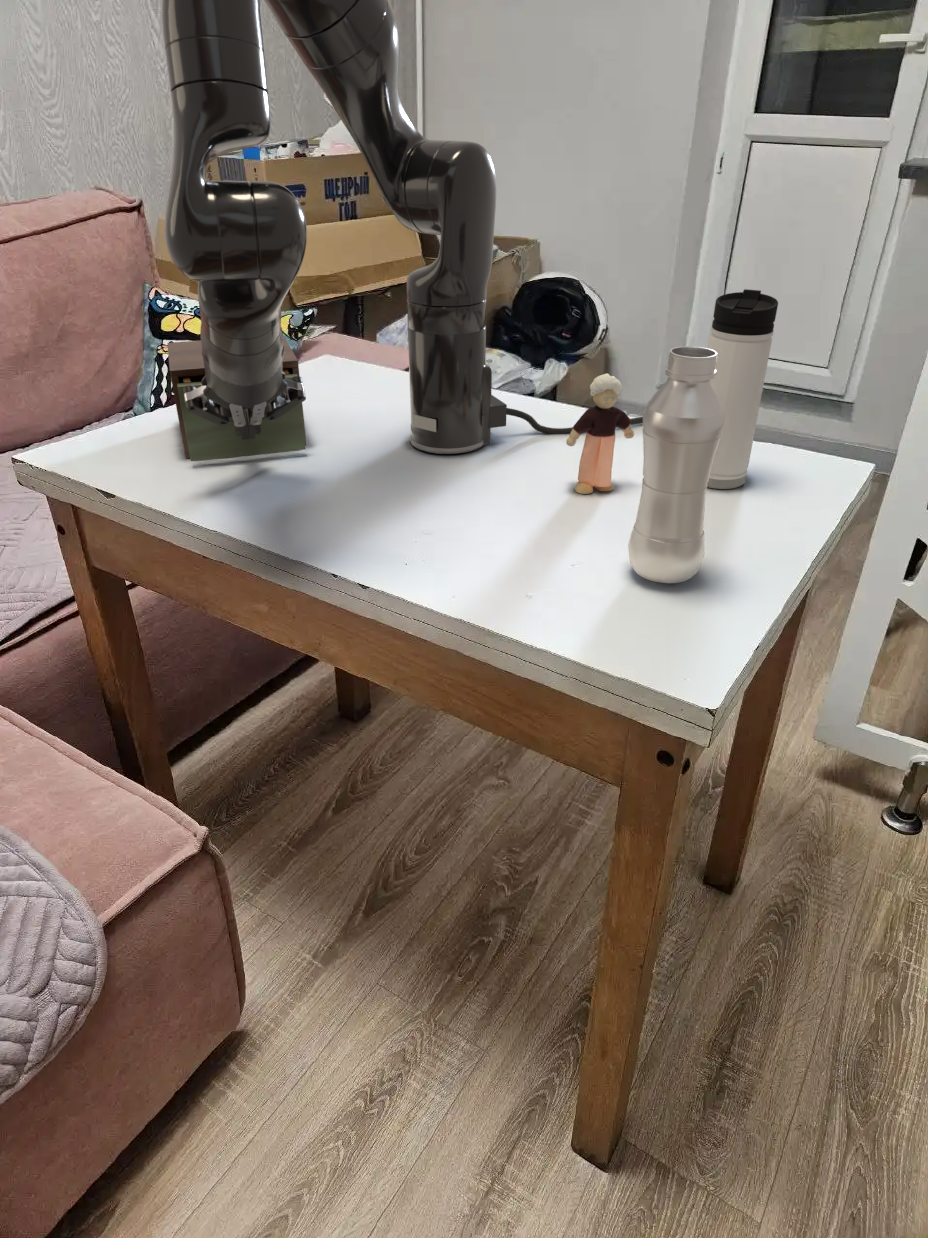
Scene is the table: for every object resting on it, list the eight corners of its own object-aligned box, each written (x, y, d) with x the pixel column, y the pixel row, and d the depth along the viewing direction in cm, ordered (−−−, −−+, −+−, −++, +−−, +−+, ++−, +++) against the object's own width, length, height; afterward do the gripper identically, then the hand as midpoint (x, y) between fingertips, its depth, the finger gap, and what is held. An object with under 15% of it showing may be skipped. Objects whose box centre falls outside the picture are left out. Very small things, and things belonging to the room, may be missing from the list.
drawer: (307, 452, 101) (299, 379, 96) (191, 465, 98) (177, 389, 93) (291, 417, 112) (283, 350, 108) (186, 427, 109) (174, 358, 104)
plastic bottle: (701, 596, 74) (741, 364, 63) (623, 588, 75) (649, 359, 64) (699, 562, 79) (735, 344, 69) (625, 555, 80) (650, 340, 70)
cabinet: (306, 446, 106) (298, 360, 100) (185, 458, 102) (169, 370, 96) (291, 413, 117) (282, 334, 111) (181, 423, 113) (167, 342, 107)
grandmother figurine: (578, 500, 91) (587, 383, 85) (559, 487, 94) (566, 373, 88) (635, 487, 94) (649, 373, 88) (615, 475, 97) (626, 364, 91)
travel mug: (749, 473, 98) (784, 291, 88) (740, 493, 93) (775, 303, 82) (695, 464, 100) (723, 286, 90) (683, 484, 95) (710, 297, 85)
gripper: (305, 309, 83) (299, 397, 100) (165, 318, 80) (182, 408, 96) (319, 378, 82) (310, 455, 98) (176, 390, 78) (192, 468, 95)
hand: (247, 431), depth 97 cm, fingers closed
